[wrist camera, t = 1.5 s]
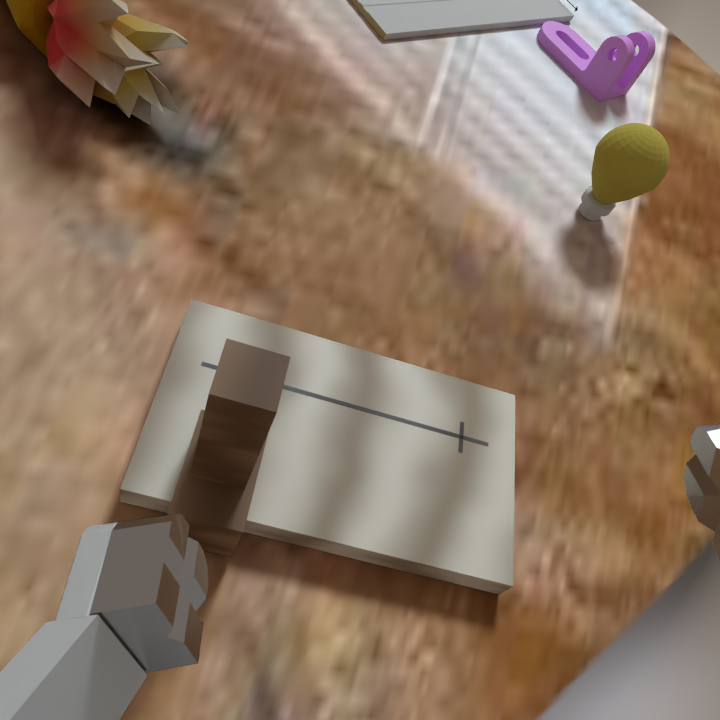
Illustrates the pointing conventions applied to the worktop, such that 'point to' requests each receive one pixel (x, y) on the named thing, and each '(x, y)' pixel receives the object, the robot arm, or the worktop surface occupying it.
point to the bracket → (599, 58)
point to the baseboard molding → (456, 15)
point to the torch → (100, 50)
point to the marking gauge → (229, 446)
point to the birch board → (351, 453)
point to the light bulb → (624, 168)
